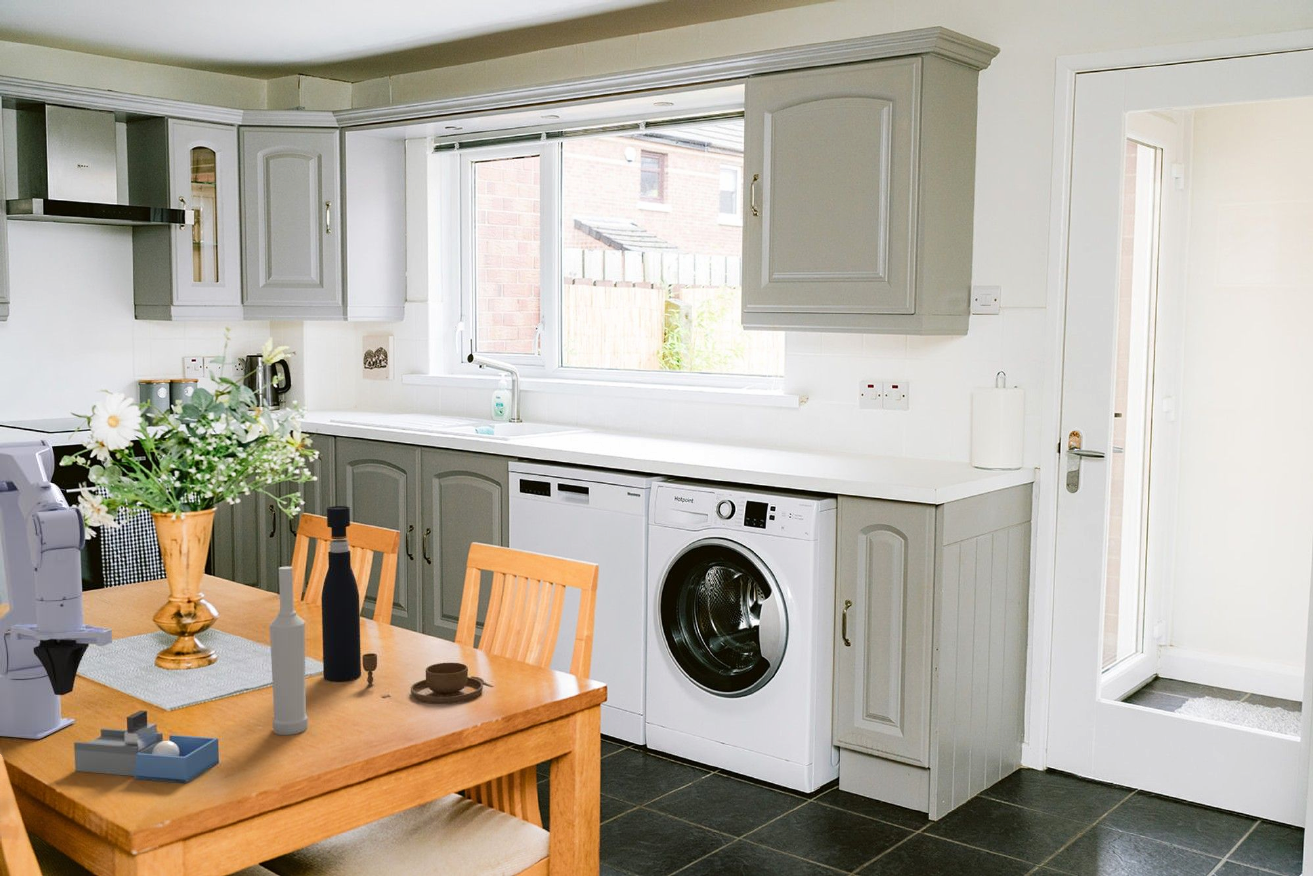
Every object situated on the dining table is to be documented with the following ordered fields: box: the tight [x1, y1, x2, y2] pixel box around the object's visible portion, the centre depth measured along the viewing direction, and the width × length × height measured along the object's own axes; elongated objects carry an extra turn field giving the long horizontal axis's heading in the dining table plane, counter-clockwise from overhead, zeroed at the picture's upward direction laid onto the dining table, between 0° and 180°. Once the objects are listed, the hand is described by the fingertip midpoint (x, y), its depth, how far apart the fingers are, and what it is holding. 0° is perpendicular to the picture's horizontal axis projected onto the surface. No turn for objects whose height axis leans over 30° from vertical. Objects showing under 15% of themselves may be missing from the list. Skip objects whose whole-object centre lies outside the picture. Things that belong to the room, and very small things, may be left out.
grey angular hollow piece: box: [124, 710, 158, 751], centre depth 162 cm, size 2×4×4 cm, turn 168°
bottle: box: [269, 565, 309, 736], centre depth 177 cm, size 5×5×25 cm
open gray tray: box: [73, 728, 164, 777], centre depth 163 cm, size 10×6×4 cm, turn 78°
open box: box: [133, 734, 220, 784], centre depth 162 cm, size 8×8×4 cm
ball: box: [152, 740, 179, 756], centre depth 162 cm, size 4×4×4 cm
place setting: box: [361, 652, 495, 705], centre depth 199 cm, size 18×20×6 cm
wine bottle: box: [320, 505, 362, 683], centre depth 204 cm, size 6×6×30 cm
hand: (63, 692), depth 163 cm, fingers closed
